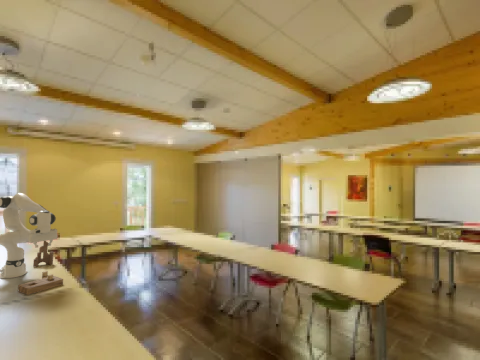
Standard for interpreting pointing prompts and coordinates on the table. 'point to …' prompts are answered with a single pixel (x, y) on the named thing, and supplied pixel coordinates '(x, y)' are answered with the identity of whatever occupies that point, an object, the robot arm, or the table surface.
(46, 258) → the wooden toy
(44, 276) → the leg
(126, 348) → the table surface
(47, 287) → the board
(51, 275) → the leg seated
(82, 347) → the table surface
